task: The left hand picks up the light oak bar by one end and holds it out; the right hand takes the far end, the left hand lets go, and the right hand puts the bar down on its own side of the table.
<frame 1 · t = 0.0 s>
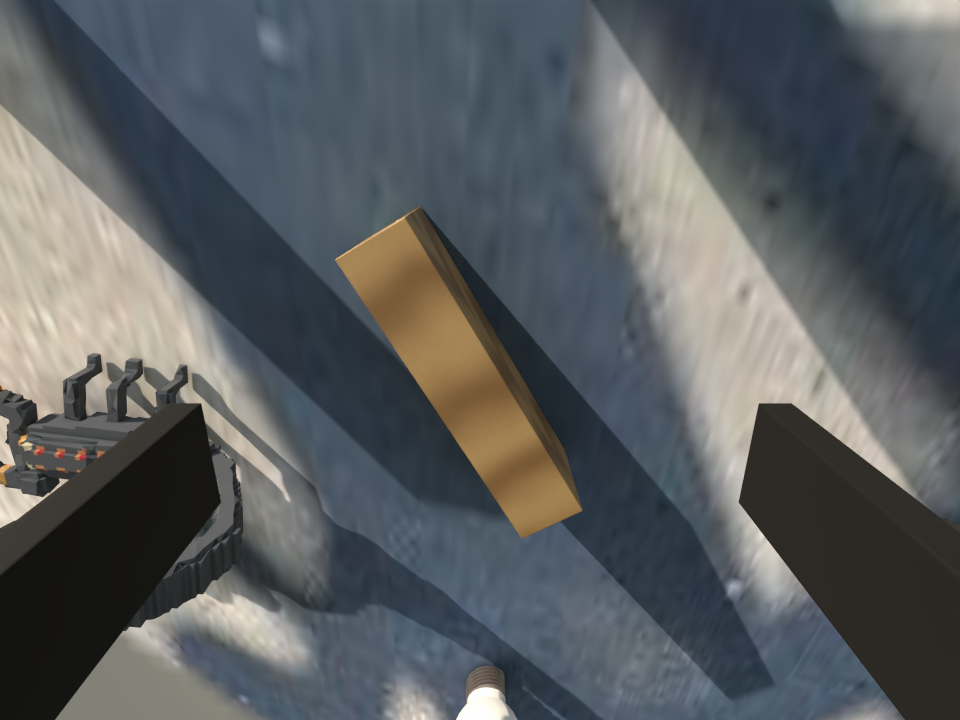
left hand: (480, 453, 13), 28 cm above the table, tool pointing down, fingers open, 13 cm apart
light bulb: (486, 678, 54), on the table
bar: (472, 352, 41), on the table
toy: (130, 425, 44), on the table
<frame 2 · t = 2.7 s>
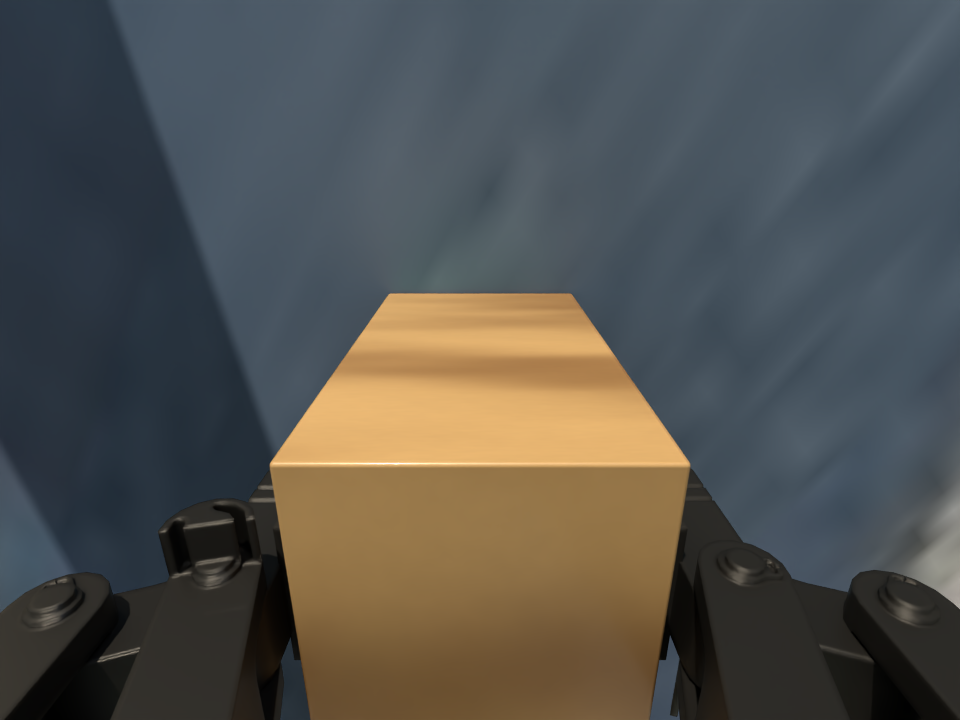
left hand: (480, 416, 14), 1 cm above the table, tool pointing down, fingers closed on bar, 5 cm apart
bar: (480, 624, 18), on the table, touching left hand
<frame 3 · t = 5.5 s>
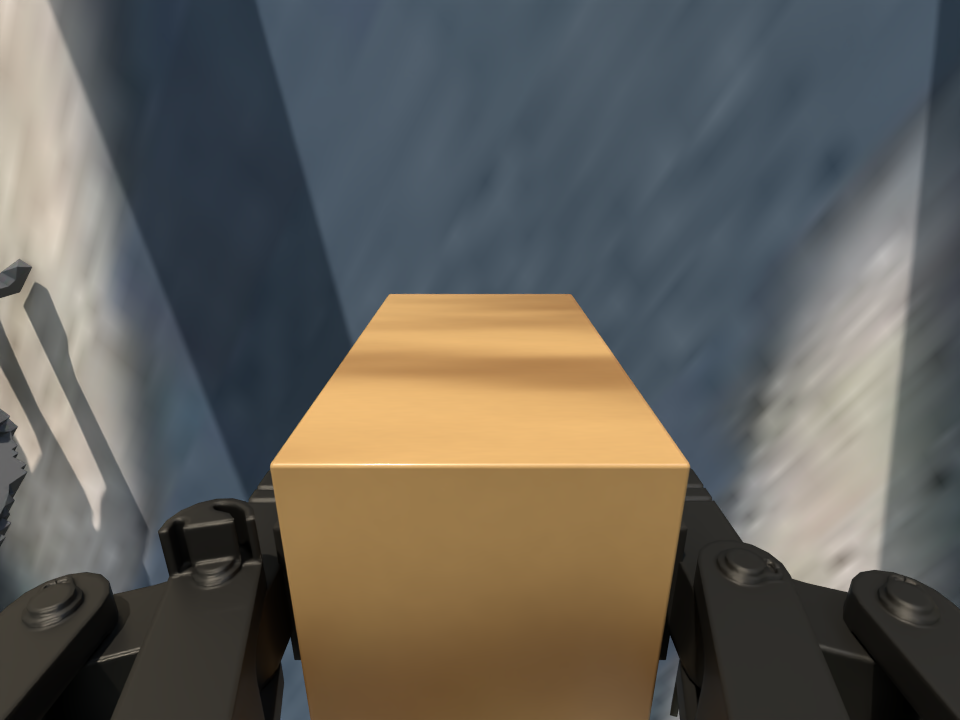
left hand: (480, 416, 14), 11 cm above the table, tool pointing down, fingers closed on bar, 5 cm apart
bar: (480, 625, 18), point 10 cm above the table, touching left hand
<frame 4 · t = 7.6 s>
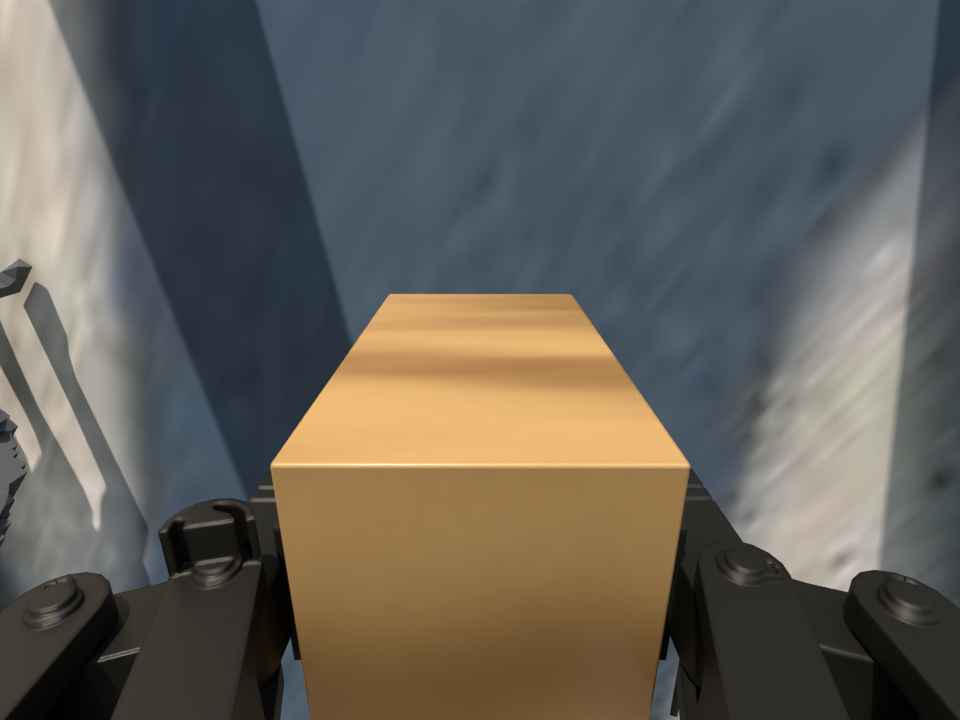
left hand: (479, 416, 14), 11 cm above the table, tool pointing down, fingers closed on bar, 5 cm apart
bar: (480, 625, 18), point 10 cm above the table, touching left hand, right hand
when the left hand's fingers open (11 cm above the table, at t = 8.4 s): bar stays where it is, held by the right hand.
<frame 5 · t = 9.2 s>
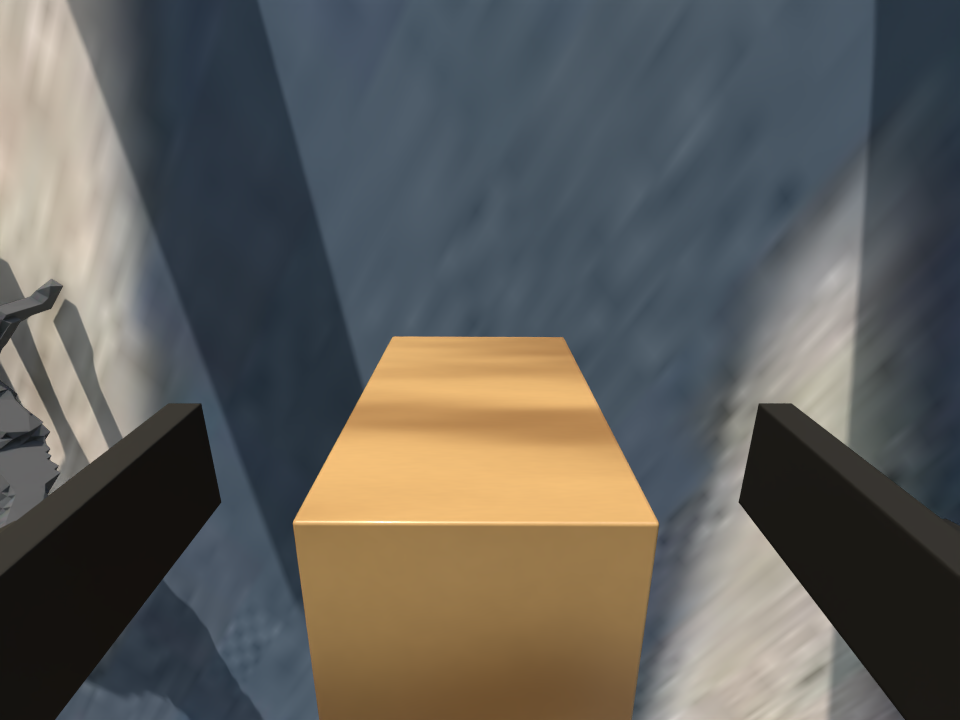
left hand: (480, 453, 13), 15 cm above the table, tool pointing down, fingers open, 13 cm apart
bar: (477, 647, 19), point 12 cm above the table, touching right hand
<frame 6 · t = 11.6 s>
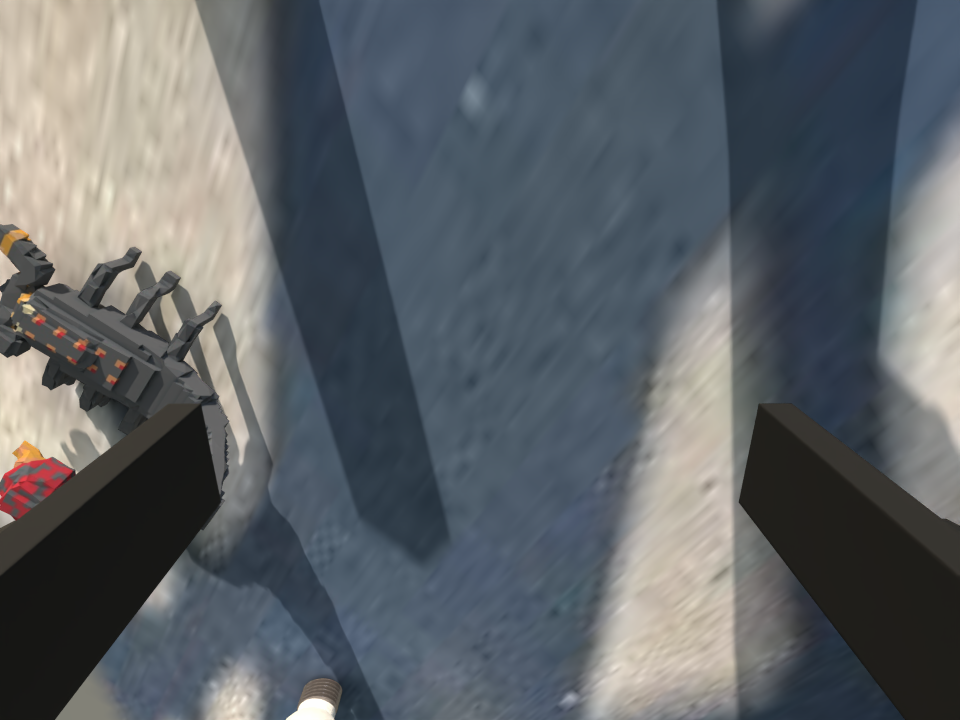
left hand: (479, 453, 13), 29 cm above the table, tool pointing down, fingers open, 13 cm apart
light bulb: (323, 689, 55), on the table
toy: (128, 326, 42), on the table
when the right hand's fingers open (2 cm above the table, at t = 15.4 s): bar drops 2 cm, on the table.
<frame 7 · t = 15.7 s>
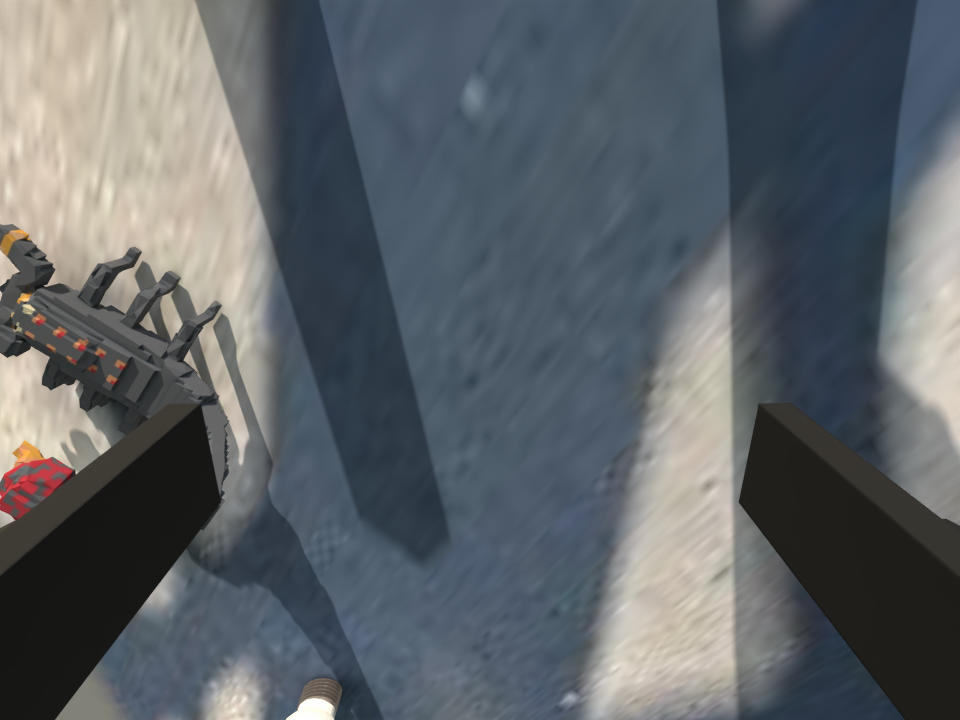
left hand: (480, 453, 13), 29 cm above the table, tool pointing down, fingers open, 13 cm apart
light bulb: (323, 689, 55), on the table
toy: (128, 326, 42), on the table
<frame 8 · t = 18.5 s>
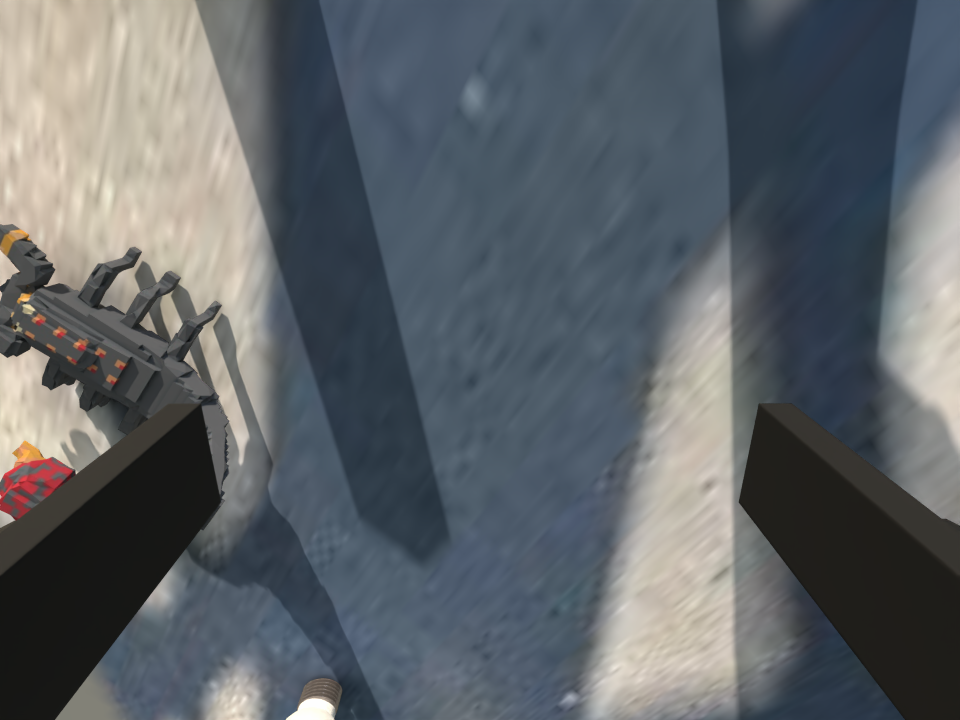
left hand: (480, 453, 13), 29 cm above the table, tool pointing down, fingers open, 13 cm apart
light bulb: (323, 689, 55), on the table
toy: (128, 326, 42), on the table
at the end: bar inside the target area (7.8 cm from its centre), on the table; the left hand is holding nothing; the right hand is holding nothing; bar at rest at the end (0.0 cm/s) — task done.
